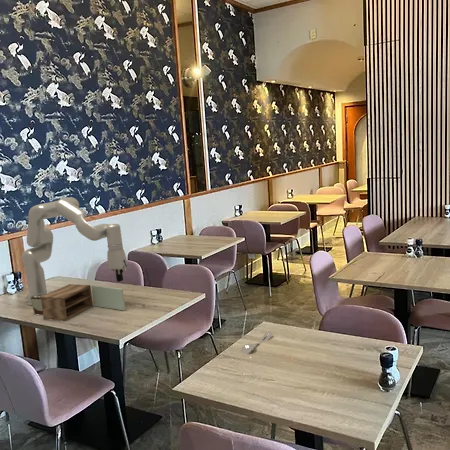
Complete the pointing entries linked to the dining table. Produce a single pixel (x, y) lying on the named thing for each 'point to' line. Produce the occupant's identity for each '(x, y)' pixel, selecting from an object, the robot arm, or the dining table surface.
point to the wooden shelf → (66, 302)
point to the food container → (37, 303)
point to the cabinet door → (108, 297)
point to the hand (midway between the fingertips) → (120, 280)
